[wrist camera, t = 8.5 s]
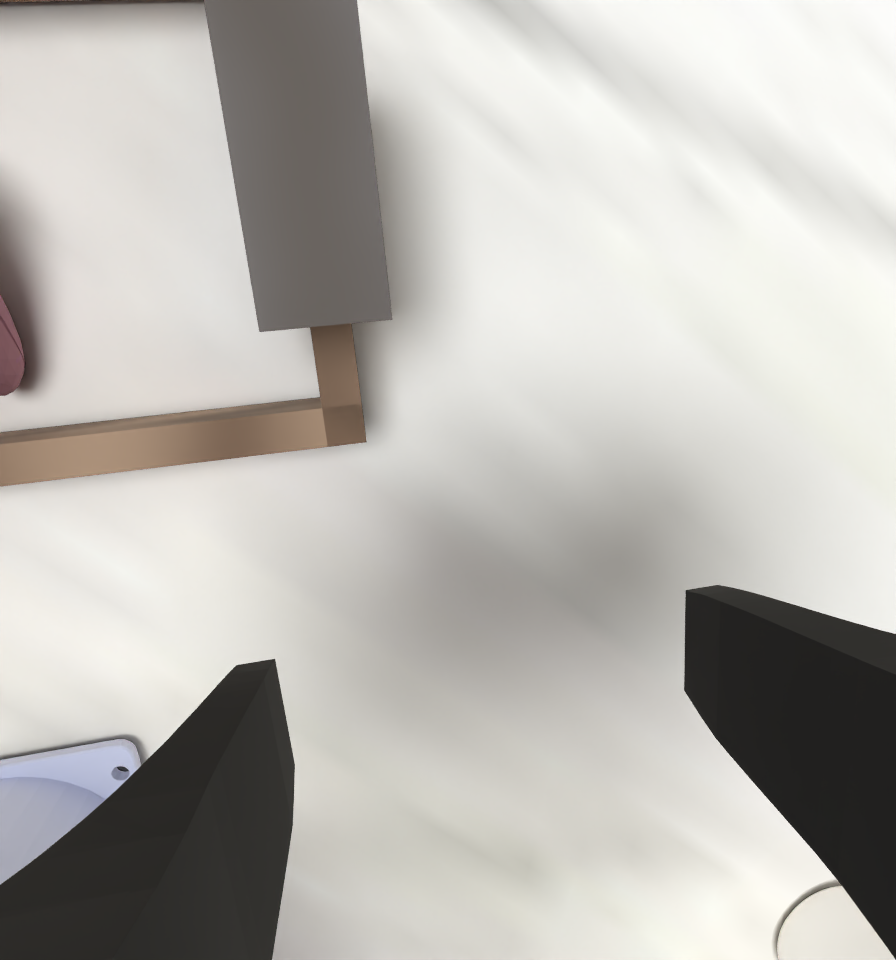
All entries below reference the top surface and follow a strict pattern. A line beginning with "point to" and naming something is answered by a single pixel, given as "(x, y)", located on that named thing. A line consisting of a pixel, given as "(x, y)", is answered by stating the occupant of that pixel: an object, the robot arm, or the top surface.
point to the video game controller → (9, 353)
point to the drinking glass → (829, 930)
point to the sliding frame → (269, 244)
